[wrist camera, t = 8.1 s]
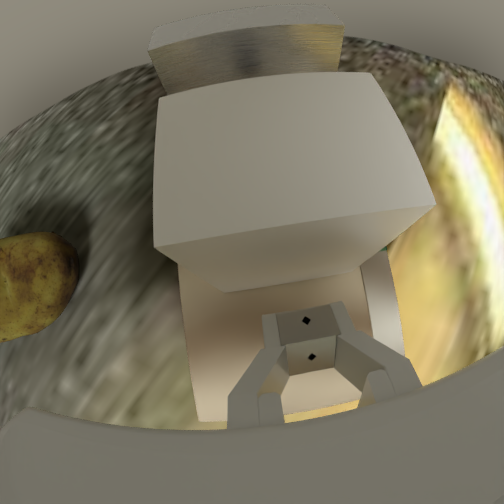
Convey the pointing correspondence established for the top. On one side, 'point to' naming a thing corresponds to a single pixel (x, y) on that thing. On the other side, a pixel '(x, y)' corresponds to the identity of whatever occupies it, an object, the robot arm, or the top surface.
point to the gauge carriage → (282, 178)
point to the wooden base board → (252, 340)
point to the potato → (34, 282)
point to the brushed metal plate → (246, 45)
